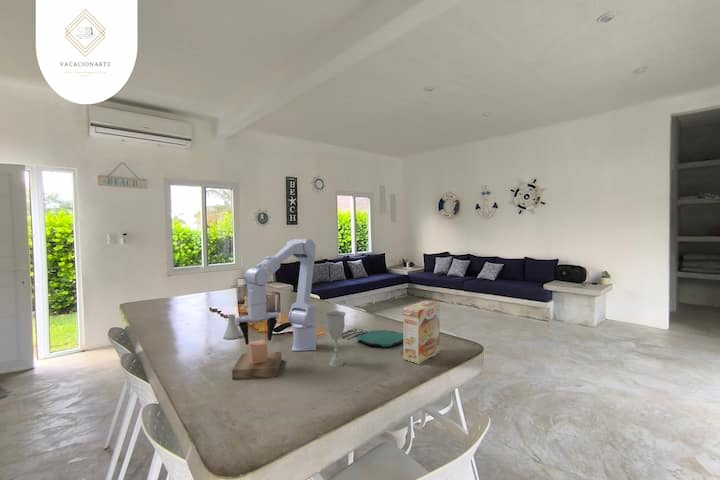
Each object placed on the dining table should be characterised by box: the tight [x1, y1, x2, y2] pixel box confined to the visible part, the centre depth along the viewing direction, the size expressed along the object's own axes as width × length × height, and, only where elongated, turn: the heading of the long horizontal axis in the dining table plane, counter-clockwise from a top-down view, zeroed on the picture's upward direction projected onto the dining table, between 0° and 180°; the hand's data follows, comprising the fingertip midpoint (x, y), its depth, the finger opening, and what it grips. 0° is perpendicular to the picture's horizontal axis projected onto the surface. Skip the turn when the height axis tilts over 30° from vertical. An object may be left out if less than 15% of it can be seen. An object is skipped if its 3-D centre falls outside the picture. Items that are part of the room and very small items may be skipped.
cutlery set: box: [340, 328, 403, 348], centre depth 151 cm, size 20×30×2 cm, turn 52°
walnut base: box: [231, 351, 282, 380], centre depth 120 cm, size 14×14×3 cm
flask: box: [223, 313, 242, 340], centre depth 154 cm, size 7×7×10 cm
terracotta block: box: [248, 339, 268, 364], centre depth 120 cm, size 5×5×6 cm
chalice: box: [325, 310, 347, 367], centre depth 123 cm, size 7×7×18 cm
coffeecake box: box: [402, 300, 441, 365], centre depth 129 cm, size 15×7×20 cm, turn 137°
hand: (258, 341), depth 120 cm, fingers open, 7 cm apart
